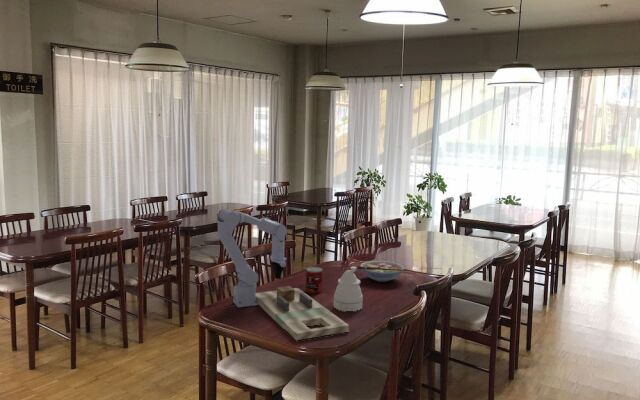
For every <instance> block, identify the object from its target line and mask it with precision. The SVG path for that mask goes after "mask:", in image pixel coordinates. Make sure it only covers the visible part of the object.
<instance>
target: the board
mask: <svg viewBox="0 0 640 400" xmlns="http://www.w3.org/2000/svg"><path fill="white" fill-rule="evenodd" d="M292 288H293V287H292ZM293 289H294V290H295V300H289V301H287V300H285V299H284V298H283V297H282V296H277V289H276V290H269V291H260V292H256V302H257V303H258V304H259V305H258V306H259V307H260V308H261V309H262V310H263V311H264V312H266V314H268V316H270V317H271V318H272V320H274V322H276V323H277V325H279V326H280V327H281V328H282V329H283V330H284V329H285V330H286V331H287V332H288V333H289V334H290V335H291V336H292V337H293V338H294V339H295V340H296V341H295V340H294V339H293V338H292V337H291V336H290V335H289V334H288V333H287V332H286V331H285V330H284V331H285V332H286V333H287V334H288V335H289V336H290V337H291V338H292V339H293V340H294V341H295V342H298V341H297V340H301V339H306V338H312V337H318V336H324V335H329V334H336V333H343V332H349V331H350V330H349V328H350V327H349V326H350V325H349V324H348V323H346V322H345V321H344V320H343V319H341V318H340V317H338V316H337V315H336V314H334V313H333V312H331V311H330V310H329V309H327V308H326V307H325V306H323V305H322V304H320V303H319V302H318V301H316V300H315V299H314V298H313V297H311V296H309V295H308V294H307V293H305V292H304V291H303V290H301V289H300V288H299V287H295V288H293ZM320 324H321V325H320ZM314 325H318V326H321V327H315V326H314ZM322 325H323V326H324V327H323V326H322ZM307 326H311V327H315V328H310V327H307ZM343 334H344V333H343Z"/></svg>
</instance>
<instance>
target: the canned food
mask: <svg viewBox="0 0 640 400" xmlns="http://www.w3.org/2000/svg"><path fill="white" fill-rule="evenodd" d="M305 270H306V271H305V275H306V276H305V291H306V293H308V294H319V293H321V292H322V291H323V268H322V267H318V266H317V267H316V266H312V267H311V266H309V267H307V268H306V269H305Z"/></svg>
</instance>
